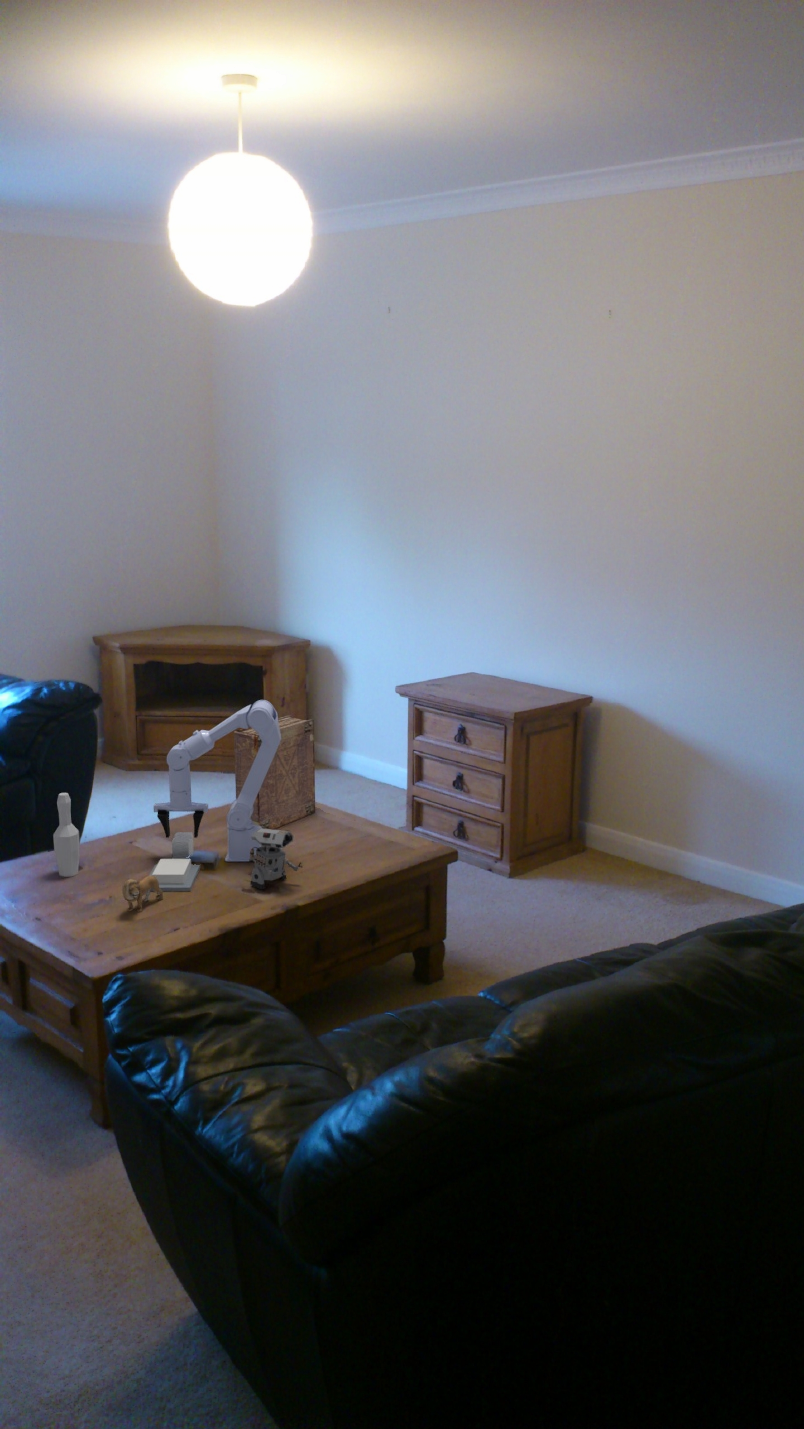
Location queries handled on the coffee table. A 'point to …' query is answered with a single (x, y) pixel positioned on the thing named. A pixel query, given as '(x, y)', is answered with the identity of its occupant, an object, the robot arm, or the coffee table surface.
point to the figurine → (270, 856)
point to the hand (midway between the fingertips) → (182, 836)
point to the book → (280, 773)
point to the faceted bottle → (66, 839)
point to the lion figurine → (140, 891)
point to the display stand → (175, 874)
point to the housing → (182, 845)
